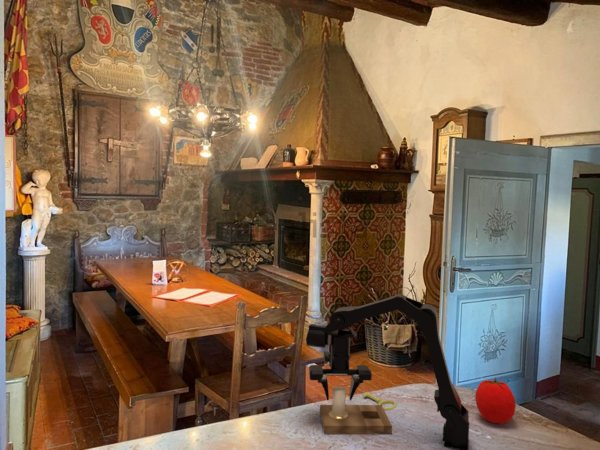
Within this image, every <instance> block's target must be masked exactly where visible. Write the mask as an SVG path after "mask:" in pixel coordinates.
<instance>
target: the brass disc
mask: <svg viewBox="0 0 600 450" xmlns="http://www.w3.org/2000/svg"><path fill="white" fill-rule="evenodd" d="M329 416H330V417H331V418H334V419H345V418H347V417H348V413H347V412H345V416H343V417H335V416H333V415H332V411H330V412H329Z"/></svg>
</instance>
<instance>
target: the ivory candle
mask: <svg viewBox="0 0 600 450" xmlns="http://www.w3.org/2000/svg"><path fill="white" fill-rule="evenodd" d="M346 394H347V388H346V387H344V386H341V385H336V386H333V387H332V402H331V403H332V404H331V405H332V415H333V416H335V417H343V416H345V405H346V404H347V403H346V400H347V398H346Z"/></svg>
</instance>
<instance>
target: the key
mask: <svg viewBox="0 0 600 450" xmlns="http://www.w3.org/2000/svg"><path fill="white" fill-rule="evenodd" d="M361 396H362V397H364V398H366V397H368V398H369V399H371V400H372V401H374V402H377V405H382V407H383V409H384V411H391V410H394V409H396V408H397V402H396V401H394V400H391V399H385V400H383V399H382V398H378V397H376V396H375V395H373V394H371V393H369V392H368V391H365V393H364V394H363V393H362V395H361ZM387 404H391V405H392V406H391V407H390V406H389V407H384V406H383V405H387Z"/></svg>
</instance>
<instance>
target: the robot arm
mask: <svg viewBox="0 0 600 450" xmlns="http://www.w3.org/2000/svg"><path fill="white" fill-rule="evenodd" d="M394 311H399V312H401V313H403V314H404V315H405V316H407V317H408V318H410V319H411V320H413V321H415V323H416V325H417V327H418V329H419V331H420V333H421V334H422V336H423V338H424V339H425V342H426V346H427V349H428V354H429V357H430V362H431V365H432V369H433V372H434V376H435V380H436V385H437V389H434V394H433V395H434V396H433V399H434V401H435V404H436V408H437V411H436V412H438V413H440V416H441V417H442V418H443V419H444V420H445V423H443V426H442V427H443V428H442V442H443V447H446V448H451V449H454V450H469V447H470V438H469V437H470V436H469V435H470V421H469V415H470V414H469V410H468V409H467V408H466V407H465V406H464V405H463V404H462V400H461V397H460V395H459V393H458V391H457V389H456V387H455V386H454V384H453V382H452V380H451V375H450V372H449V368H448V364H447V361H446V357H445V353H444V349H443V345H442V342H441V338H440V333H439V332H440V331H439V330H440V329H439V316H438V310H437V308H436V307H435V306H434V305H432V304H429V303H425V304H424V303H422V302H420V301H419V300H416V299H413V298H410V297H408V296H406V295H404V294H401V293H397V294H395V295H394V296H390V297H387V298H383V299H380V300H376V301H373V302H370V303H367V304H363V305H358V306H356V305H355V306H351V305H350V306H342V307H338V308H337V309H336V310H335V311H334V312H332V314H331V315H330V318H329V322H328V323H327V324H326V325H318V324H314V323H311V324H309V325H308V330H307V335H306V337H305V341H306V342H305V343H306V346H307V347H312V348H320V349H327V347H328V346H330V351H323V362H324V363H328V362H329V363H328V365H329V368H323V366H322V364H311V365H309V367H308V377H309V381H317V383H318V384H321V386H322V388H323V390H324V394H325V398H326V400H327V401H330V400H329V399H330V398H329V397H330V396H329V394H330V392H329V383H328V379H327V377H328V376H332V377H333V376H334V377H335V376H341V377H343V376H349V377H350V386H349V395H348V396H349V397H348V399H349V401H352V399H353V398H354V395H355V393H356V392H357V389H358V387H359V386H360V384H363V383H364V381H372V379H373V375H372V371H371V368H370V367H369V366H368V365H366V364H365V365H364V364H358V365H355V368H350V353H351V352H350V350H351V349H350V348H351V339H355V338H356V337H357V335H358V333H357V332H356V331H355V330H354V329H353V327H352V326H353V325H355V324H357V323H358V322H360V321H363V320H366V319H371V318H374V317H377V316H380V315H384V314H387V313H390V312H394ZM349 327H350V329H347V328H349Z"/></svg>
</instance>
